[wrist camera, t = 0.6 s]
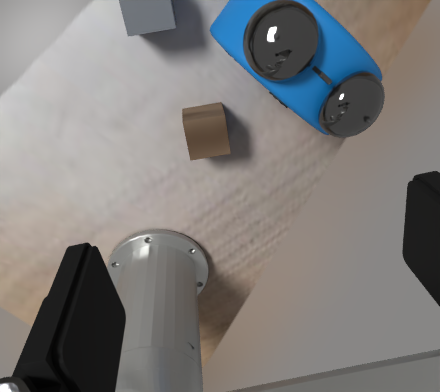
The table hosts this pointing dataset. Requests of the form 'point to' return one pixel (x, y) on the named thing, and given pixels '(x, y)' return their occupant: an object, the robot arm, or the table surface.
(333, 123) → the alarm clock
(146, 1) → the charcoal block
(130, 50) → the table surface
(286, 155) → the table surface
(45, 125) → the table surface
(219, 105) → the walnut block
